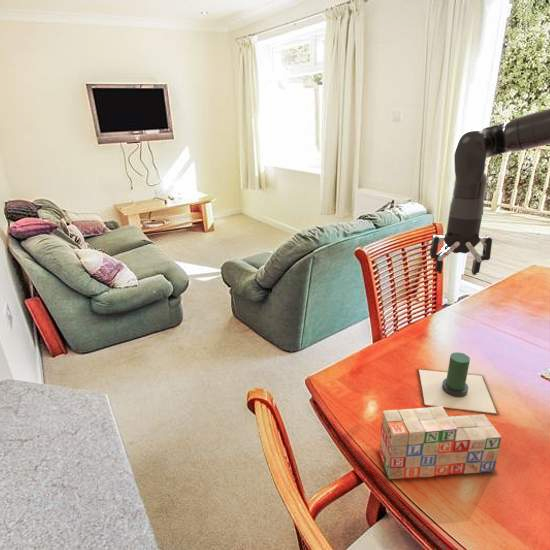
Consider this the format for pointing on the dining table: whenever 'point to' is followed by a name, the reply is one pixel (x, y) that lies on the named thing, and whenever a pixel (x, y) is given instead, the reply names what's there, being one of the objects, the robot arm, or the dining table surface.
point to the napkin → (472, 401)
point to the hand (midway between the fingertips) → (456, 273)
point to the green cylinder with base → (457, 375)
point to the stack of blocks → (436, 443)
